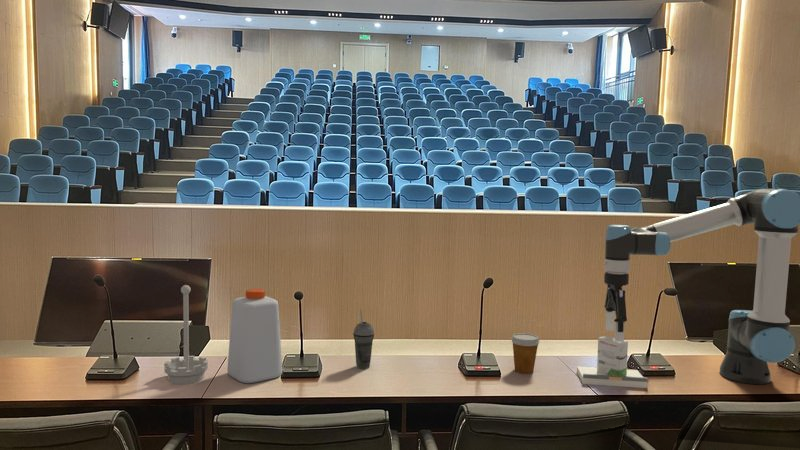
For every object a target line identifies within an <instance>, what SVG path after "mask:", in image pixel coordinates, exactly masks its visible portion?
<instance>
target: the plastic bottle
mask: <svg viewBox="0 0 800 450" xmlns="http://www.w3.org/2000/svg"><path fill="white" fill-rule="evenodd" d="M231 302H232V303H231V312H230V313H231V315H230V327H229V328H230V329H229V342H228V356H227V357H228V358H227V375H229V376H230V377H232V378H234V379H235V380H236V381H238V382H239V383H243V384H255V383H259V382H263V381H268V380H272V379H276V378H279V377H280V376H281V375H282V374H283V357H282V344H281V343H282V342H281V341H282V340H281V327H280V309H279V302H278V299H277V300H276V299H274V298H272V297H269V296H267V295H266V291H265V289H262V288H250V289H247V290H246V291H245V296H242V297H237V298H234V299H233V300H232V301H231Z"/></svg>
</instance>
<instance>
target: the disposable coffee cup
mask: <svg viewBox="0 0 800 450" xmlns="http://www.w3.org/2000/svg"><path fill="white" fill-rule="evenodd" d="M511 342H512V350H513V363H514V371H515V372H517V373H520V374H532V373H534V369H535V365H536V357H537V353H538V348H539V347H538V346H539V344H540V339H539V336H538V335H536V334H533V333H526V332H522V333H520V332H517V333H514V334H513V335H512V337H511Z"/></svg>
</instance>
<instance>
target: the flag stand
mask: <svg viewBox="0 0 800 450" xmlns="http://www.w3.org/2000/svg"><path fill="white" fill-rule="evenodd" d="M191 291H192V290H191V287H190V286H189V285H188V284H184V285H183V286H181V288H180V293H182V296H183V297H182V302H183V306H182V307H183V311H182V312H183V313H182V314H183V318H182V319H183V359H180V356H176V357H173V358H170V361H169V360H167V361H165V362H164V369H163V371H164V373H165V374H166V375H167V381H168V383H170V384H174V385H189V384H196V383H198V382H201V381H203V380H204V379H205V377H206V376H205V373H206V371H207V370H208V369H209V359H208V360H207V357H204V356H199V357H198V359H197V358H195V357H196V356H195V355H190V351H189V350H190V349H189V348H190V343H189V342H190V340H189V339H190V338H189V332H190V331H189V329H190V328H189V325H190V324H189V321H190V319H189V318H190V317H189V315H190V314H189V310H190V309H189V294H190V293H191Z"/></svg>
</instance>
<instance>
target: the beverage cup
mask: <svg viewBox="0 0 800 450" xmlns="http://www.w3.org/2000/svg"><path fill="white" fill-rule="evenodd" d="M359 312H360V322H359V323H358V324H356V325H355V327H354V330H353V333H352V335H353V339H354V349H355V350H354V351H355V364H356V368H357V369H361V370H366V369H369V368H370V367H371V361H372V360H371V359H372V349H373V341H374V338H375V331H374V327H373V326H372V325H371V324H370V323H369V322H366V321H364V320H363V312H362V309H359Z"/></svg>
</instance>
